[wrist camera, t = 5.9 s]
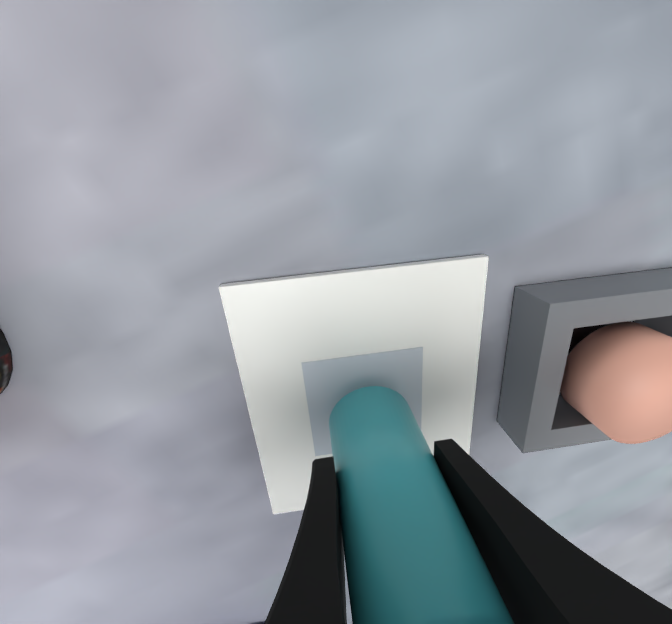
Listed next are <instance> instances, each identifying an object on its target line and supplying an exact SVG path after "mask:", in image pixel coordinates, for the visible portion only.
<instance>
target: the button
mask: <svg viewBox="0 0 672 624" xmlns="http://www.w3.org/2000/svg"><path fill="white" fill-rule="evenodd" d="M560 393H561V395H562V397H563V399H564V400H565V401H566V402H567V403H568V404H570V405H571V406H572V407H573V408H574V409H576V410H577V411H578V412H579V413H580V414H582V415H583V416H584V417H585V418H586V419H588V420H589V421H590V422H591V423H592V424H594V425H595V426H596V427H597V428H598V429H600V430H601V431H602V432H603V433H604V434H606V435H607V436H608V437H609V438H611V439H612V440H615V441H617V442H620V443H627V444H635V443H642V442H647V441H651V440H654V439H656V438H659V437H661V436H663V435H666V434H668V433H669V432H671V431H672V337H670V336H667V335H665V334H663V333H660V332H658V331H656V330H653V329H651V328H649V327H646V326H644V325H641V324H639V323H635V322H618V323H613V324H610V325H607V326H604V327H602V328H600V329H598V330H596V331H594V332H593V333H591V334H589V335H588V336H587V337H585V338H584V339H583V340H582V341H580V342H579V343H578V344H577V345H576V346H575V347H574V349H573V350H572V351H571V352H570V354H569V355H568V356H567V361H566V365H565V370H564V374H563V379H562V383H561V388H560Z"/></svg>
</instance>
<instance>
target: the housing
mask: <svg viewBox="0 0 672 624" xmlns="http://www.w3.org/2000/svg"><path fill="white" fill-rule="evenodd" d="M633 320H635V321H634V322H635V323H639V324H641V325H644V326H646V327H649V328H651V329H653V330H656V331H658V332H660V333H663V334H665V335H667V336H670V337H672V268H664V269H656V270H648V271H640V272H631V273H623V274H615V275H606V276H598V277H590V278H582V279H573V280H565V281H557V282H549V283H540V284H532V285H524V286H516V287H515V292H514V299H513V306H512V314H511V321H510V329H509V336H508V343H507V351H506V358H505V365H504V373H503V380H502V388H501V395H500V402H499V410H498V417H497V422H498V423H499V425H500V426H501V427H502V428H503V430H504V431H505V432H506V433H507V434H508V436H509V437H510V438H511V439H512V441H513V442H514V443H515V444H516V446H517V447H518V448H519V449H520V450H521V452H522V453H528V452H534V451H541V450H547V449H553V448H560V447H566V446H573V445H579V444H586V443H592V442H599V441H605V440H611V438H609V437H608V436H607V435H606V434H604V433H603V432H602V431H601V430H600V429H598V428H597V427H596V426H595V425H594V424H592V423H591V422H590V421H589V420H588V419H586V418H585V417H584V416H583V415H582V414H580V413H579V412H578V411H577V410H576V409H574V408H573V407H572V406H571V405H570V404H568V403H567V402H566V401H565V400H564V399H563V397H562V395H559V392H560V388H561V383H562V379H563V374H564V370H565V365H566V361H567V356H568V352H569V347H570V342H571V338H572V333H573V329H574V328H580V327H587V326H595V325H603V324H610V323H618V322H625V321H633Z"/></svg>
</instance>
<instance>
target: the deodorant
mask: <svg viewBox="0 0 672 624" xmlns="http://www.w3.org/2000/svg"><path fill="white" fill-rule="evenodd" d="M11 372H12V361H11V351H10V349H9V347H8V344H7V342H6V340H5V337H4V335H3V333H2V331H1V330H0V394H1V393H2V391H3V390H4V389H5V388H6V386H7V385H8V382H9V379H10V375H11Z"/></svg>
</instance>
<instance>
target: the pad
mask: <svg viewBox="0 0 672 624" xmlns="http://www.w3.org/2000/svg"><path fill="white" fill-rule="evenodd" d="M488 258H489V256H486V255H484V254H481V255H472V256H463V257H455V258H446V259H437V260H428V261H419V262H411V263H402V264H393V265H384V266H375V267H367V268H358V269H349V270H340V271H331V272H323V273H314V274H305V275H296V276H287V277H279V278H270V279H261V280H252V281H243V282H235V283H226V284H221V285H220V286H219V291H220V295H221V299H222V303H223V307H224V312H225V316H226V320H227V324H228V328H229V332H230V337H231V341H232V345H233V349H234V353H235V357H236V361H237V366H238V370H239V374H240V378H241V382H242V386H243V391H244V395H245V399H246V403H247V407H248V411H249V415H250V420H251V424H252V428H253V432H254V436H255V440H256V445H257V449H258V453H259V457H260V461H261V465H262V469H263V474H264V478H265V482H266V486H267V490H268V494H269V499H270V503H271V507H272V511H273V515H274V514H281V513H287V512H293V511H299V510H304V508H305V504H306V500H307V495H308V490H309V485H310V479H311V472H312V462H313V461H314V460H315V459H319V458H326V457H332V456H333V455H332V447H331V438H330V430H329V418H330V414H331V412H332V410H333V408H334V406H335V405H336V404H337V403H338V401H339V400H340V399H342V398H343V397H344V396H345V395H347V394H348V393H350V392H352V391H354V390H357V389H360V388H363V387H369V386H382V387H387V388H390V389H392V390H394V391H396V392H398V393H399V394H401V395H402V396H403V397H404V398H405V400H406V401H407V403H408V405H409V407H410V409H411V411H412V413H413V415H414V417H415V419H416V421H417V423H418V425H419V427H420V429H421V431H422V434H423V436H424V438H425V440H426V442H427V444H428V446H429V448H430V450H431V452H432V454H433V456H434V441H439V440H446V439H453V440H454V441H455V442H456V443H457V444H458V445H459V446H460V447H461V448H462V449H463V450H464V451H465V452H466V453H467V454H468V455H469V452H470V442H471V432H472V422H473V411H474V401H475V391H476V381H477V371H478V360H479V350H480V340H481V330H482V320H483V309H484V299H485V289H486V279H487V268H488Z"/></svg>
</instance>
